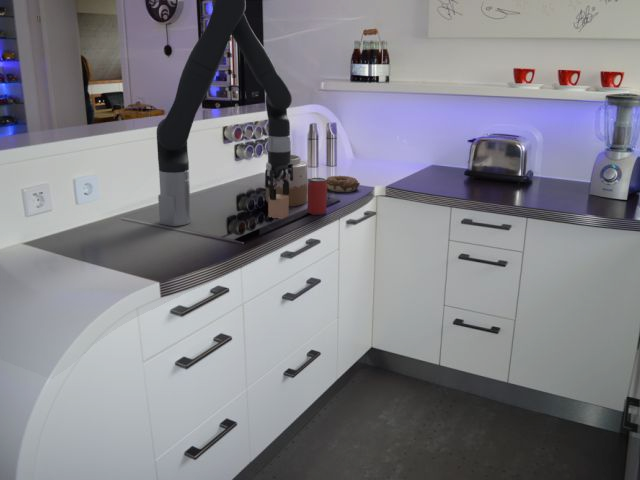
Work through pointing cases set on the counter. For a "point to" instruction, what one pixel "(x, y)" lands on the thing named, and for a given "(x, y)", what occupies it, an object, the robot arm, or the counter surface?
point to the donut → (342, 183)
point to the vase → (294, 182)
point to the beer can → (317, 196)
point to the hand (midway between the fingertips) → (279, 197)
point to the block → (278, 207)
